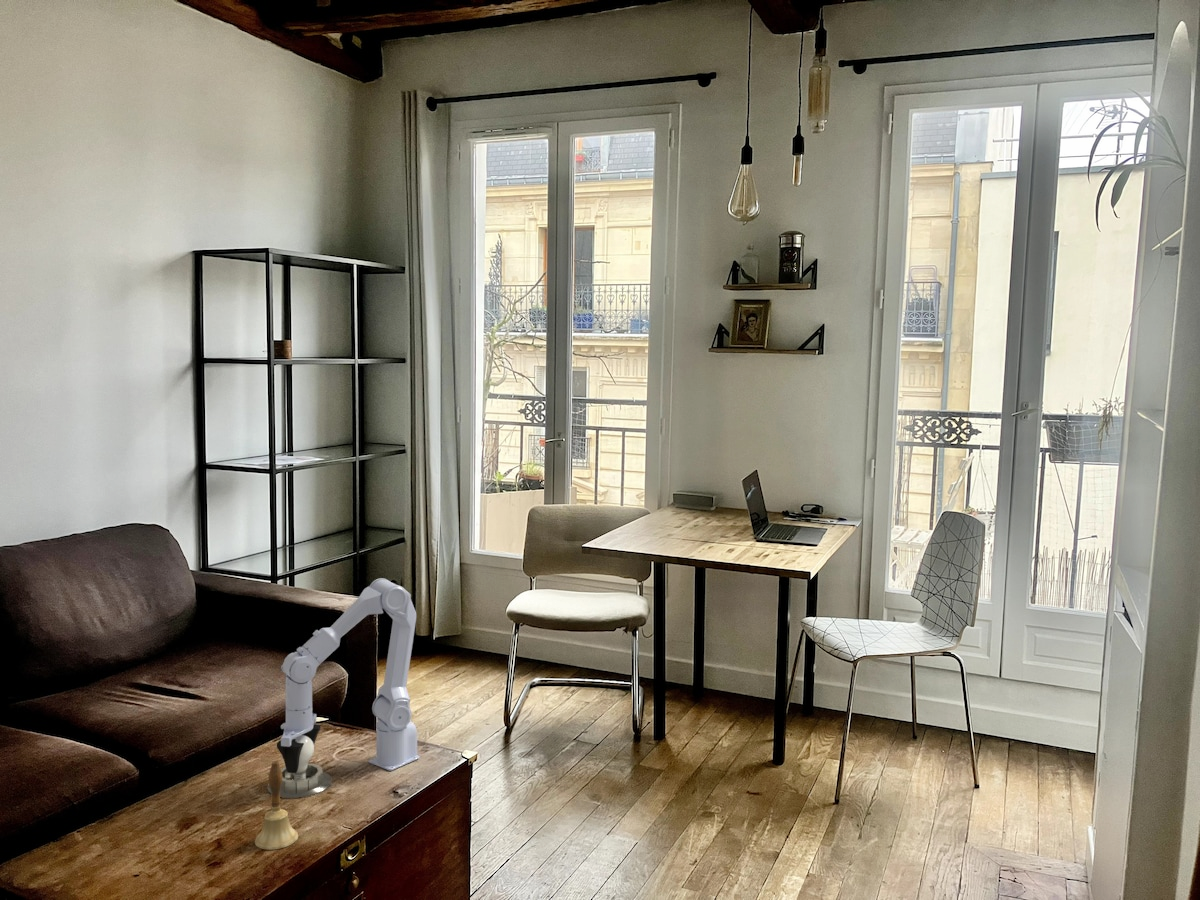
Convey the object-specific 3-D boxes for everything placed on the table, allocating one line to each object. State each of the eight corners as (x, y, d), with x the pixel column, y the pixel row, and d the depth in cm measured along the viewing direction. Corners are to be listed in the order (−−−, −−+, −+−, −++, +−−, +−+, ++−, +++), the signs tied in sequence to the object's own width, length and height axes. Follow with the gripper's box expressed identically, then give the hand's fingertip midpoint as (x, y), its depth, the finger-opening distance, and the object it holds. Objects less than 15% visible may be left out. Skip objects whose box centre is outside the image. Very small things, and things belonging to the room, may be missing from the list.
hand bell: (245, 841, 186) (244, 764, 185) (280, 825, 193) (280, 750, 192) (272, 854, 182) (271, 775, 180) (307, 837, 189) (306, 760, 187)
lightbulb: (320, 778, 214) (319, 732, 213) (304, 790, 208) (304, 743, 207) (295, 775, 216) (294, 729, 215) (279, 787, 210) (278, 739, 209)
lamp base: (306, 765, 222) (306, 754, 222) (344, 782, 214) (344, 770, 213) (254, 786, 210) (253, 774, 210) (292, 804, 202) (292, 792, 202)
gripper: (295, 694, 218) (296, 750, 219) (267, 717, 204) (267, 777, 205) (324, 696, 217) (325, 752, 218) (298, 719, 203) (298, 779, 204)
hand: (299, 764), depth 212 cm, fingers open, 7 cm apart
